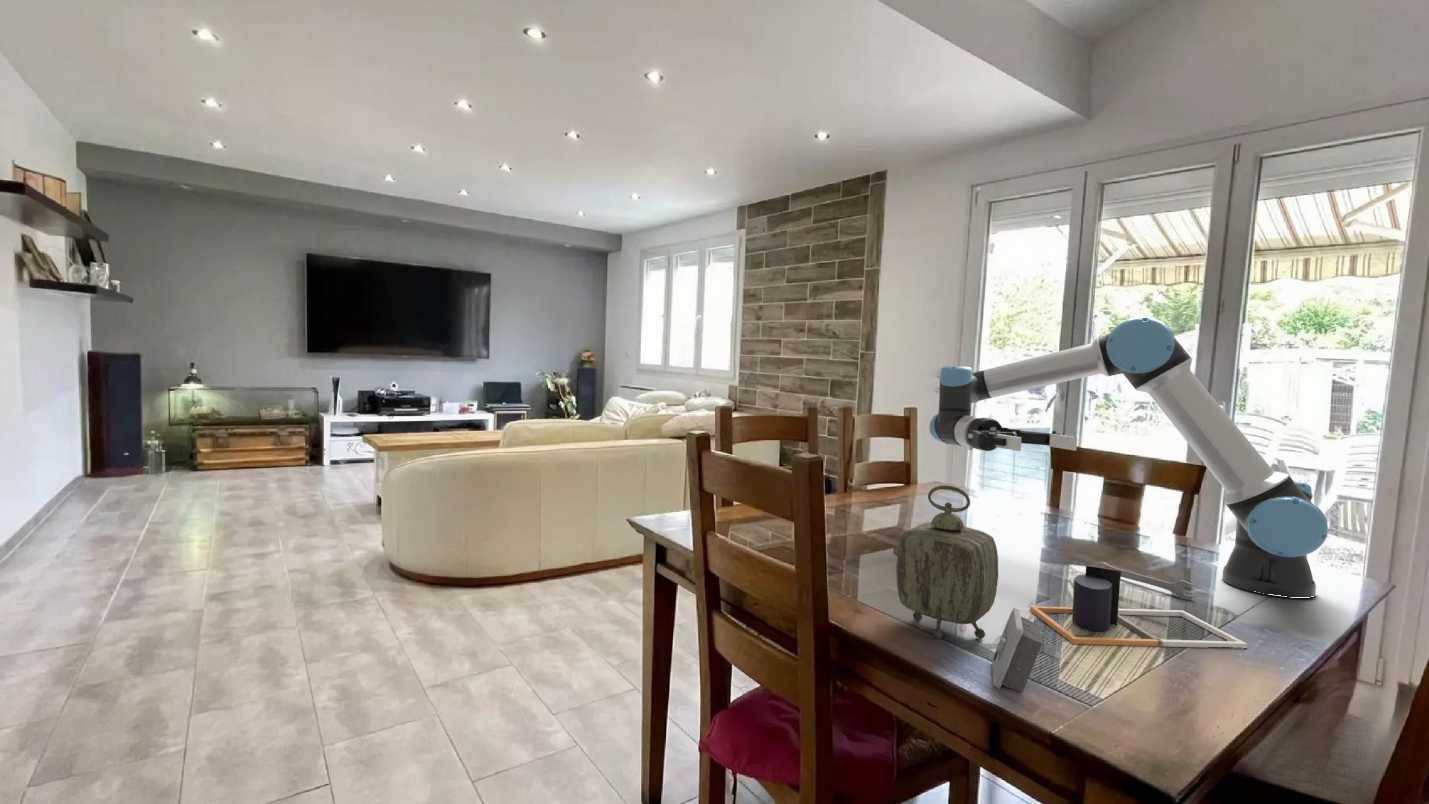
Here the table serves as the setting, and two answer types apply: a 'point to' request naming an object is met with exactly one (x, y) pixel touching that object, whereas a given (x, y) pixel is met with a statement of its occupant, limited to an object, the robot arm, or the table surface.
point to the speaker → (1096, 598)
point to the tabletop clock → (947, 569)
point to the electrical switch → (1016, 652)
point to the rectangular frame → (1140, 630)
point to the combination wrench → (1156, 582)
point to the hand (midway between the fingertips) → (1047, 444)
